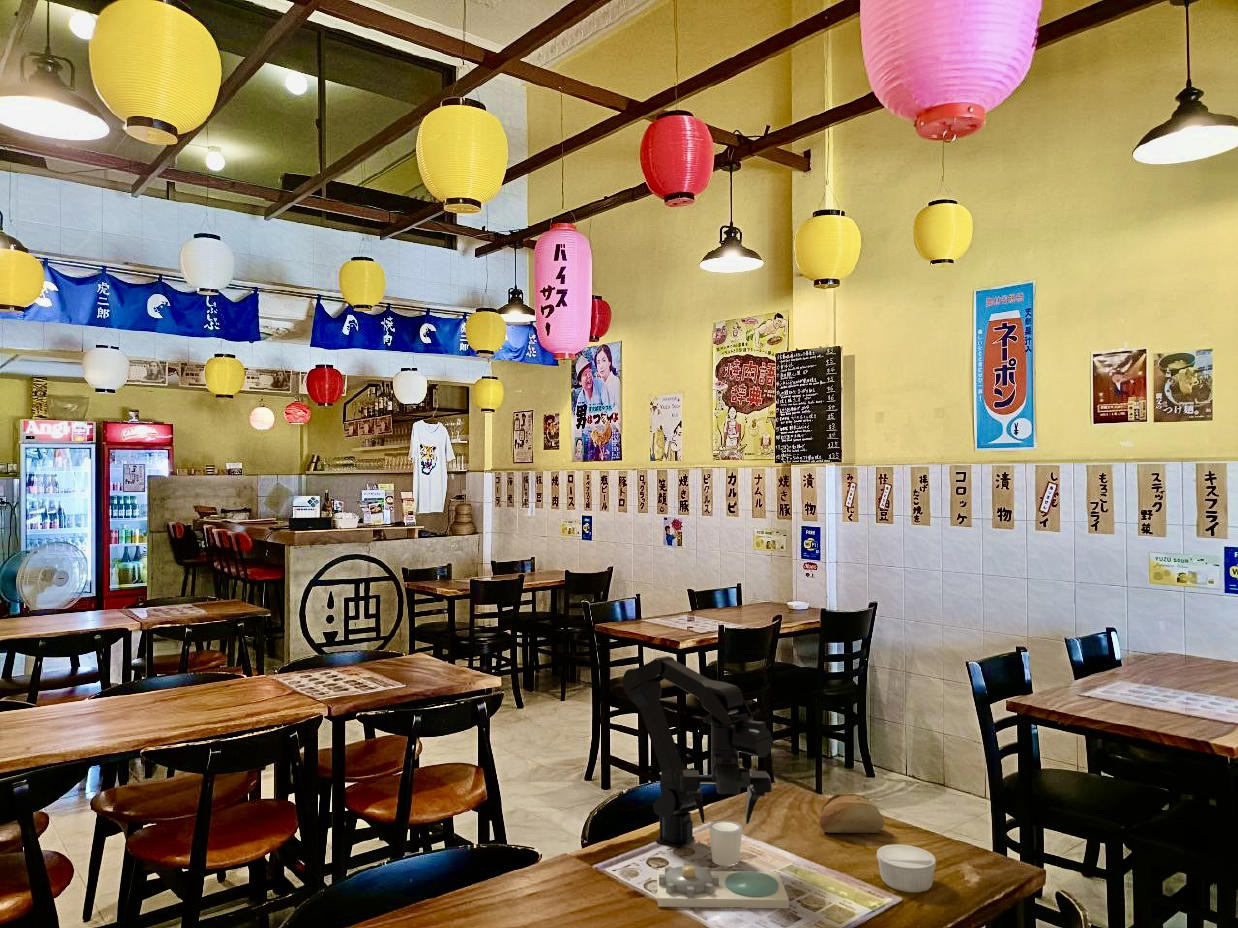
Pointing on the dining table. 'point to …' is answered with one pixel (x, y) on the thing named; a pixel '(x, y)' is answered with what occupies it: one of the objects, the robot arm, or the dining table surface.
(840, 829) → the bread roll
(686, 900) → the gear board
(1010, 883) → the dining table surface
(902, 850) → the ramekin
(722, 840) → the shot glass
